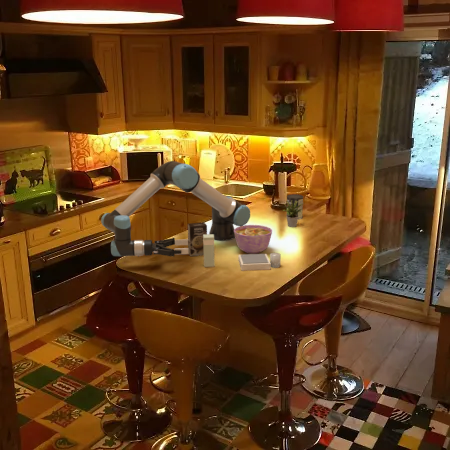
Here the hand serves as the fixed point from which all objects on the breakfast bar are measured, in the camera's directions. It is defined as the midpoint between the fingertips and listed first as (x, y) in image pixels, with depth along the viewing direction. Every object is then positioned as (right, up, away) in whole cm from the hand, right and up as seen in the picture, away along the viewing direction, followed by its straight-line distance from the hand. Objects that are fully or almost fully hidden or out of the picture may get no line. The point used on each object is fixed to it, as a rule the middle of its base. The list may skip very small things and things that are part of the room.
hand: (188, 246), depth 260 cm
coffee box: (+4, -5, +20) cm, 21 cm away
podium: (+32, -9, +3) cm, 34 cm away
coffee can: (+62, +15, +85) cm, 106 cm away
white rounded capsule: (+42, -10, +2) cm, 43 cm away
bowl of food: (+32, -4, +23) cm, 40 cm away
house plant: (+59, +9, +65) cm, 88 cm away
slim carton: (+10, -9, +4) cm, 14 cm away
